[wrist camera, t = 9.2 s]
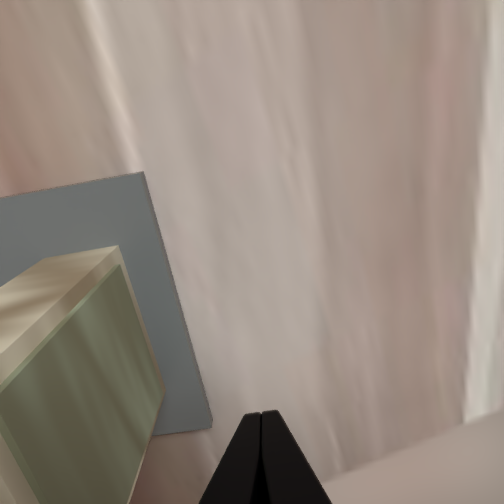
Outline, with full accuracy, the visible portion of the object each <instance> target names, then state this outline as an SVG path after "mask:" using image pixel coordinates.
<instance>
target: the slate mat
mask: <svg viewBox="0 0 504 504" xmlns="http://www.w3.org/2000/svg"><path fill="white" fill-rule="evenodd" d="M117 245H118V246H119V249H120V252H121V255H122V258H123V261H124V264H125V267H126V270H127V273H128V276H129V279H130V282H131V285H132V288H133V291H134V294H135V297H136V300H137V303H138V306H139V309H140V312H141V315H142V319H143V322H144V325H145V328H146V331H147V334H148V337H149V340H150V343H151V346H152V349H153V352H154V355H155V358H156V361H157V364H158V367H159V370H160V373H161V376H162V379H163V382H164V385H165V388H166V392H165V395H164V398H163V401H162V404H161V407H160V410H159V413H158V416H157V420H156V423H155V426H154V429H153V432H152V435H151V436H156V435H163V434H170V433H178V432H185V431H192V430H200V429H207V428H212V421H213V419H212V415H211V411H210V408H209V404H208V401H207V397H206V394H205V390H204V386H203V383H202V379H201V376H200V372H199V369H198V365H197V361H196V358H195V354H194V351H193V347H192V343H191V340H190V336H189V333H188V329H187V326H186V322H185V318H184V315H183V311H182V308H181V304H180V301H179V297H178V293H177V290H176V286H175V283H174V279H173V276H172V272H171V268H170V265H169V261H168V258H167V254H166V250H165V247H164V243H163V240H162V236H161V233H160V229H159V225H158V222H157V218H156V215H155V211H154V208H153V204H152V200H151V197H150V193H149V190H148V186H147V182H146V179H145V175H144V172H143V171H142V172H136V173H131V174H125V175H120V176H115V177H109V178H104V179H99V180H93V181H88V182H82V183H77V184H72V185H66V186H61V187H55V188H50V189H45V190H39V191H34V192H28V193H23V194H18V195H12V196H7V197H1V198H0V287H1V286H3V285H4V284H6V283H7V282H9V281H10V280H12V279H13V278H15V277H16V276H18V275H19V274H21V273H22V272H24V271H26V270H27V269H29V268H30V267H32V266H33V265H35V264H36V263H38V262H39V261H41V260H42V259H44V258H48V257H54V256H59V255H65V254H71V253H77V252H82V251H88V250H94V249H99V248H105V247H111V246H117Z"/></svg>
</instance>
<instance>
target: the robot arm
mask: <svg viewBox="0 0 504 504" xmlns="http://www.w3.org/2000/svg"><path fill="white" fill-rule="evenodd" d="M199 504H332V503H331V501H330V499H329V497H328V496H327V494H326V492H325V491H324V489H323V487H322V485H321V484H320V482H319V480H318V478H317V477H316V475H315V473H314V471H313V470H312V468H311V466H310V464H309V463H308V461H307V459H306V458H305V456H304V454H303V452H302V451H301V449H300V447H299V445H298V444H297V442H296V440H295V439H294V437H293V435H292V433H291V432H290V430H289V428H288V426H287V425H286V423H285V421H284V420H283V418H282V416H281V414H280V413H279V411H278V410H270V411H264V412H262V414H261V413H260V412H255V413H248V414H245V415H244V416H243V418H242V420H241V422H240V424H239V426H238V428H237V430H236V432H235V434H234V436H233V438H232V440H231V441H230V443H229V445H228V447H227V449H226V451H225V453H224V455H223V457H222V459H221V461H220V463H219V465H218V467H217V469H216V471H215V473H214V474H213V476H212V478H211V480H210V482H209V484H208V486H207V488H206V490H205V492H204V494H203V496H202V498H201V500H200V502H199Z"/></svg>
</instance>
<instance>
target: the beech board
mask: <svg viewBox="0 0 504 504" xmlns="http://www.w3.org/2000/svg"><path fill="white" fill-rule="evenodd" d="M165 392H166V388H165V385H164V382H163V379H162V376H161V373H160V370H159V367H158V364H157V361H156V358H155V355H154V352H153V349H152V346H151V343H150V340H149V337H148V334H147V331H146V328H145V325H144V322H143V319H142V315H141V312H140V309H139V306H138V303H137V300H136V297H135V294H134V291H133V288H132V285H131V282H130V279H129V276H128V273H127V270H126V267H125V264H124V261H123V258H122V255H121V252H120V249H119V246H118V245H117V246H111V247H105V248H99V249H94V250H88V251H82V252H77V253H71V254H65V255H59V256H54V257H48V258H44V259H42V260H41V261H39V262H38V263H36V264H35V265H33V266H32V267H30V268H29V269H27V270H26V271H24V272H22V273H21V274H19V275H18V276H16V277H15V278H13V279H12V280H10V281H9V282H7V283H6V284H4V285H3V286H1V287H0V504H129V503H130V500H131V497H132V494H133V491H134V488H135V484H136V481H137V478H138V475H139V472H140V469H141V466H142V463H143V460H144V457H145V454H146V450H147V447H148V444H149V441H150V438H151V435H152V432H153V429H154V426H155V423H156V420H157V416H158V413H159V410H160V407H161V404H162V401H163V398H164V395H165Z"/></svg>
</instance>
